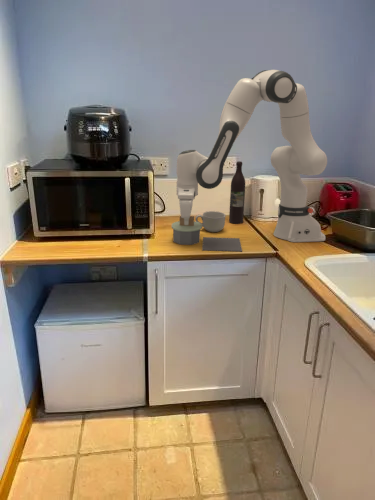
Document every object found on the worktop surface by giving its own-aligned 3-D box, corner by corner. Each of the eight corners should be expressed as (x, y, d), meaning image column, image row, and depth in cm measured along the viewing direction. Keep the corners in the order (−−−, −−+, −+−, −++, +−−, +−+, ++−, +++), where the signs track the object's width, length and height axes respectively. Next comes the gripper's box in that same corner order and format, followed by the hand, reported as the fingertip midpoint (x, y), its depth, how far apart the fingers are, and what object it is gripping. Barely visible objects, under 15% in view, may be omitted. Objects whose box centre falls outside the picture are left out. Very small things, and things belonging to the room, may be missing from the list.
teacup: (224, 227, 182) (225, 211, 180) (224, 234, 172) (225, 217, 169) (196, 226, 184) (196, 210, 181) (194, 233, 173) (194, 216, 171)
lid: (202, 223, 167) (202, 213, 166) (201, 232, 155) (201, 221, 153) (173, 222, 168) (173, 212, 166) (170, 231, 156) (170, 220, 154)
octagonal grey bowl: (200, 236, 168) (200, 223, 166) (199, 245, 158) (199, 231, 156) (175, 235, 169) (175, 223, 167) (172, 244, 159) (172, 230, 156)
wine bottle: (226, 222, 191) (229, 161, 180) (234, 219, 196) (237, 160, 185) (238, 224, 187) (241, 163, 176) (245, 222, 192) (249, 161, 181)
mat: (239, 239, 166) (239, 238, 166) (242, 251, 151) (242, 250, 151) (203, 237, 167) (203, 237, 167) (202, 250, 152) (202, 249, 152)
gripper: (181, 185, 166) (181, 216, 171) (177, 195, 147) (177, 229, 151) (195, 186, 165) (195, 216, 170) (193, 195, 146) (193, 230, 151)
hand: (186, 222), depth 161 cm, fingers open, 4 cm apart
